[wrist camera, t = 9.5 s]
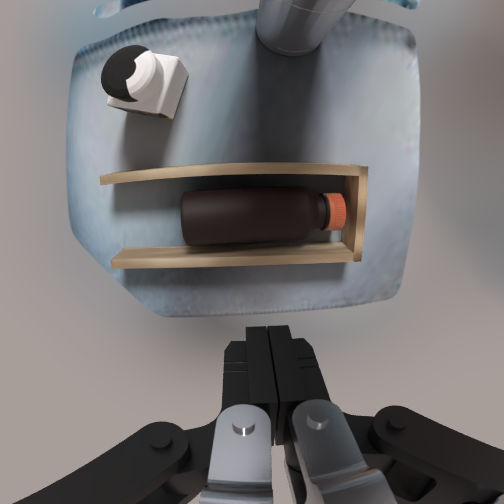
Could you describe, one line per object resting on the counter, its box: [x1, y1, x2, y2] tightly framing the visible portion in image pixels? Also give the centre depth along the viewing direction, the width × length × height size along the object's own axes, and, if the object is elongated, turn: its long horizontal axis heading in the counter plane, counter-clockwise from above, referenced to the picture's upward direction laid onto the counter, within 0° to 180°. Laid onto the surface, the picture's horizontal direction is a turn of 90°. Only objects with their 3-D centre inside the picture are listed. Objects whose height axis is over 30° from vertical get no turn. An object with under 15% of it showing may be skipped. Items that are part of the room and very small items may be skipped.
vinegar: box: [181, 186, 346, 246], centre depth 36 cm, size 7×7×20 cm
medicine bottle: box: [101, 45, 188, 120], centre depth 27 cm, size 7×7×12 cm
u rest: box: [100, 162, 368, 269], centre depth 36 cm, size 12×33×5 cm, turn 91°
